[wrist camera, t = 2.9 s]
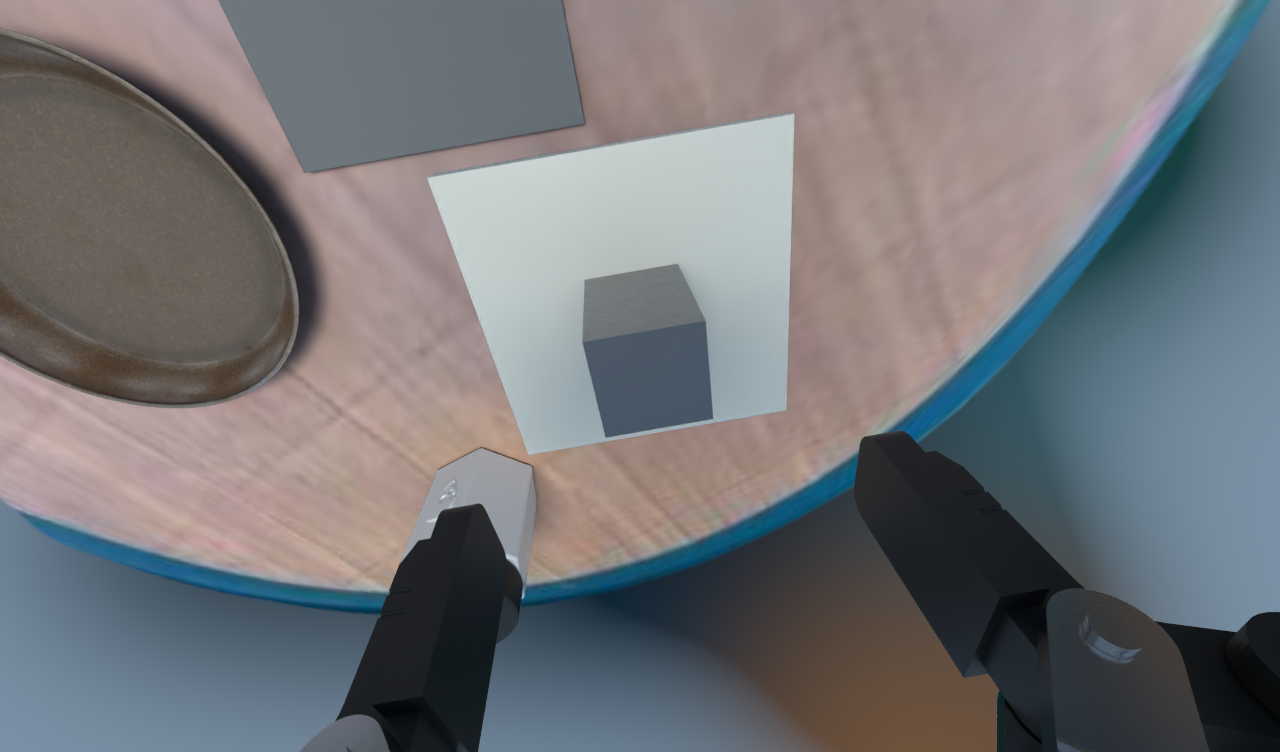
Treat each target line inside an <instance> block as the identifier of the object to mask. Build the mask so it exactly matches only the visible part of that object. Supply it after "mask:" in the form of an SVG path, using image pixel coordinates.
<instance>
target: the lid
mask: <svg viewBox="0 0 1280 752" xmlns="http://www.w3.org/2000/svg"><path fill="white" fill-rule="evenodd" d="M793 144H794V114H791V113H781V114H775V115H770V116H764V117H758V118H752V119H747V120H741V121H735V122H729V123H724V124H718V125H712V126H706V127H701V128H695V129H689V130H683V131H678V132H672V133H666V134H661V135H655V136H649V137H643V138H638V139H632V140H626V141H620V142H615V143H609V144H603V145H597V146H592V147H586V148H580V149H574V150H569V151H563V152H557V153H551V154H546V155H540V156H534V157H528V158H523V159H517V160H511V161H505V162H500V163H494V164H488V165H482V166H477V167H471V168H465V169H460V170H454V171H448V172H442V173H437V174H433V175H431V176H430V177H428V178H427V179H428V181H429V184H430V187H431V190H432V192H433V195H434V198H435V201H436V203H437V206H438V209H439V211H440V214H441V217H442V220H443V222H444V225H445V228H446V231H447V233H448V236H449V239H450V241H451V244H452V247H453V250H454V252H455V255H456V258H457V261H458V263H459V266H460V269H461V271H462V274H463V277H464V280H465V282H466V285H467V288H468V291H469V293H470V296H471V299H472V301H473V304H474V307H475V310H476V312H477V315H478V318H479V321H480V323H481V326H482V329H483V332H484V334H485V337H486V340H487V342H488V345H489V348H490V351H491V353H492V356H493V359H494V362H495V364H496V367H497V370H498V372H499V375H500V378H501V381H502V383H503V386H504V389H505V392H506V394H507V397H508V400H509V402H510V405H511V408H512V411H513V413H514V416H515V419H516V422H517V424H518V427H519V430H520V432H521V435H522V438H523V441H524V443H525V446H526V449H527V452H528V454H529V455H530V454H536V453H542V452H548V451H554V450H559V449H565V448H571V447H577V446H583V445H588V444H594V443H600V442H606V441H612V440H617V439H623V438H629V437H635V436H641V435H646V434H652V433H658V432H664V431H670V430H675V429H681V428H687V427H693V426H699V425H704V424H710V423H716V422H722V421H728V420H733V419H739V418H745V417H751V416H757V415H762V414H768V413H774V412H780V411H786V403H787V366H788V329H789V292H790V255H791V218H792V181H793Z"/></svg>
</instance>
